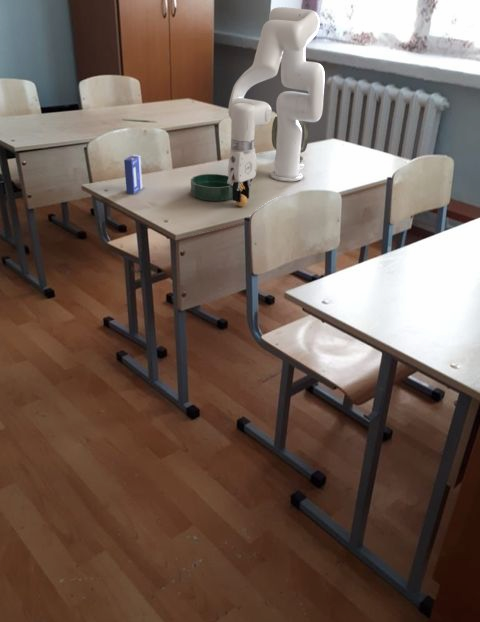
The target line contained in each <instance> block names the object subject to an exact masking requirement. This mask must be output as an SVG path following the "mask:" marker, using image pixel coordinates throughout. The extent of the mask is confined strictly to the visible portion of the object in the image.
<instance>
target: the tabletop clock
mask: <svg viewBox="0 0 480 622" xmlns="http://www.w3.org/2000/svg"><path fill="white" fill-rule="evenodd" d="M298 122H299V124H300V126H301V130H302V139H301V151H300V161H303V160H304V157H303V156H301V154H302V153H304V152H305V151H306V150H307V147H308V142H309V133H310V131H309V122H307V121H300V120H298ZM277 127H278V119H277V115H276V116H274V118H273V121H272V127H271V143H272V147H273V148H274V150H276V145H277ZM275 160H276V157H275Z"/></svg>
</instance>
